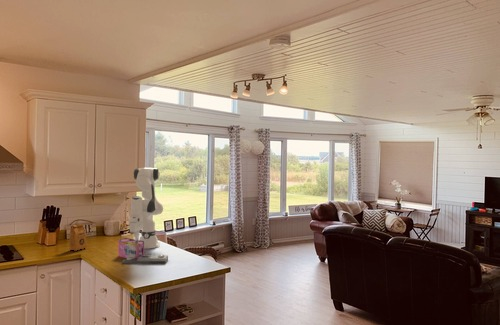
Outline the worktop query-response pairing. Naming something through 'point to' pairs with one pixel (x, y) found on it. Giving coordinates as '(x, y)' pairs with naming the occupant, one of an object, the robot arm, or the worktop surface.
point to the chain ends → (147, 259)
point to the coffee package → (77, 237)
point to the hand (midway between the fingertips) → (136, 236)
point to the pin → (137, 237)
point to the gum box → (130, 248)
